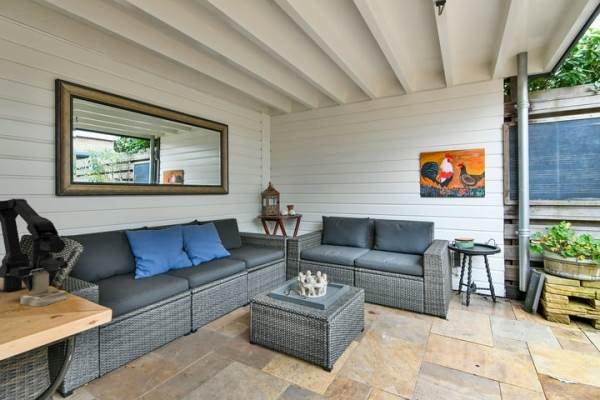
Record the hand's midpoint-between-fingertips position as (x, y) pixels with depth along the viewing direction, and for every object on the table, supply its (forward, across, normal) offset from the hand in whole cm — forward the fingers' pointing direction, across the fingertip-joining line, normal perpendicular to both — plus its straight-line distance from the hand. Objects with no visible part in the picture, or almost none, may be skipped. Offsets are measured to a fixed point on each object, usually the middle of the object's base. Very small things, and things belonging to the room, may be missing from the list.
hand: (40, 288), depth 125 cm
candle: (+3, 0, 0) cm, 3 cm away
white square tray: (+2, -5, -10) cm, 11 cm away
